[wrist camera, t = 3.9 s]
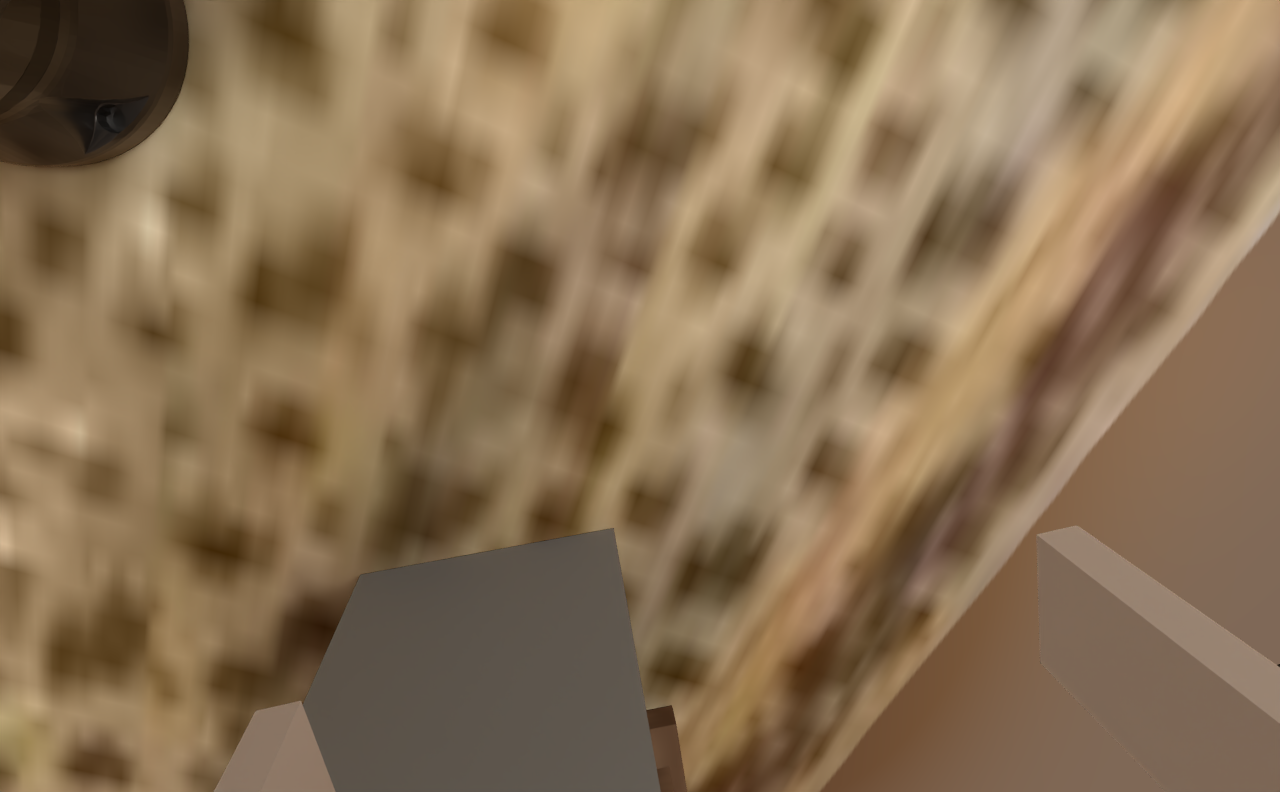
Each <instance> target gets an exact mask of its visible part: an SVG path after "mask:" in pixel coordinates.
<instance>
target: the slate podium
mask: <svg viewBox="0 0 1280 792" xmlns="http://www.w3.org/2000/svg"><path fill="white" fill-rule="evenodd" d="M303 707H304V710H305V713H306V715H307V718H308V721H309V723H310V726H311V728H312V731H313V734H314V736H315V739H316V742H317V744H318V747H319V750H320V752H321V755H322V757H323V760H324V763H325V765H326V768H327V771H328V773H329V776H330V779H331V781H332V784H333V786H334V789H335V792H661V790H660V785H659V779H658V773H657V768H656V762H655V757H654V751H653V746H652V740H651V734H650V729H649V723H648V718H647V712H646V707H645V701H644V695H643V690H642V684H641V679H640V673H639V668H638V662H637V656H636V651H635V645H634V640H633V634H632V629H631V623H630V617H629V612H628V606H627V601H626V595H625V590H624V584H623V578H622V573H621V567H620V562H619V556H618V550H617V545H616V539H615V534H614V528H612V529H606V530H601V531H596V532H590V533H585V534H579V535H574V536H568V537H563V538H558V539H552V540H547V541H541V542H536V543H530V544H525V545H520V546H514V547H509V548H503V549H498V550H492V551H487V552H482V553H476V554H471V555H465V556H460V557H454V558H449V559H444V560H438V561H433V562H427V563H422V564H417V565H411V566H406V567H400V568H395V569H389V570H384V571H379V572H373V573H368V574H362V575H360V577H359V579H358V581H357V584H356V586H355V588H354V590H353V593H352V595H351V597H350V599H349V602H348V604H347V606H346V608H345V611H344V613H343V615H342V617H341V620H340V622H339V624H338V626H337V629H336V631H335V633H334V635H333V638H332V640H331V642H330V644H329V647H328V649H327V651H326V653H325V656H324V658H323V660H322V662H321V665H320V667H319V669H318V671H317V674H316V676H315V678H314V680H313V683H312V685H311V687H310V689H309V692H308V694H307V696H306V698H305V701H304V703H303Z"/></svg>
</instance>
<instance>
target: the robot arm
mask: <svg viewBox="0 0 1280 792" xmlns="http://www.w3.org/2000/svg"><path fill="white" fill-rule="evenodd" d="M187 59H188V24H187V17H186V11H185V6H184V2H183V0H0V161H3V162H8V163H12V164H18V165H25V166H38V167H51V166H78V165H86V164H92V163H96V162H100V161H104V160H107V159H110V158H113V157H115V156H117V155H120V154H122V153H124V152H126V151H128V150H130V149H131V148H133V147H134V146H136V145H138V144H139V143H140V142H142V141H143V140H144V139H145V138H147V137H148V136H149V135H150V134H151V133H152V132H153V131H154V130H155V129H156V128H157V127H158V126H159V125H160V123H161V122H162V121H163V120H164V118H165V117H166V116H167V114H168V112H169V111H170V109H171V108H172V106H173V104H174V102H175V100H176V98H177V96H178V93H179V91H180V88H181V85H182V82H183V79H184V75H185V71H186V65H187ZM1037 566H1038V567H1037V569H1038V599H1039V600H1038V602H1039V638H1040V663H1041V664H1042V665H1043V666H1044V667H1045V668H1046V669H1047V670H1048V671H1049V672H1050V674H1051V675H1052V676H1053V677H1054V678H1055V679H1056V680H1057V681H1058V682H1059V683H1060V684H1061V685H1062V686H1063V687H1064V688H1065V689H1066V690H1067V691H1068V692H1069V693H1070V694H1071V695H1072V696H1073V697H1074V698H1075V699H1076V700H1077V701H1078V702H1079V703H1080V704H1081V705H1082V706H1083V707H1084V709H1085V710H1086V711H1087V712H1088V713H1089V714H1090V715H1091V716H1092V717H1093V718H1094V719H1095V720H1096V721H1097V722H1098V723H1099V724H1100V725H1101V726H1102V727H1103V728H1104V729H1105V730H1106V731H1107V732H1108V733H1109V734H1110V735H1111V736H1112V737H1113V738H1114V739H1115V740H1116V741H1117V743H1118V744H1119V745H1120V746H1121V747H1122V748H1123V749H1124V750H1125V751H1126V752H1127V753H1128V754H1129V755H1130V756H1131V757H1132V758H1133V759H1134V760H1135V761H1136V762H1137V763H1138V764H1139V765H1140V766H1141V767H1142V768H1143V769H1144V770H1145V771H1146V772H1147V773H1148V775H1149V776H1150V777H1151V778H1152V779H1153V780H1154V781H1155V782H1156V783H1157V784H1158V785H1159V786H1160V787H1161V788H1162V789H1163V790H1164V791H1165V792H1280V664H1279V665H1276V664H1274V663H1273V662H1271V661H1270V660H1269V659H1267V658H1265V657H1264V656H1263V655H1261V654H1260V653H1258V652H1257V651H1255V650H1254V649H1253V648H1251V647H1250V646H1248V645H1247V644H1246V643H1244V642H1243V641H1241V640H1240V639H1239V638H1237V637H1236V636H1234V635H1233V634H1231V633H1230V632H1229V631H1227V630H1226V629H1224V628H1223V627H1222V626H1220V625H1219V624H1217V623H1216V622H1214V621H1213V620H1211V619H1210V618H1209V617H1207V616H1206V615H1204V614H1203V613H1202V612H1200V611H1199V610H1197V609H1196V608H1194V607H1193V606H1191V605H1190V604H1189V603H1187V602H1186V601H1184V600H1183V599H1181V598H1180V597H1179V596H1177V595H1176V594H1174V593H1173V592H1171V591H1170V590H1169V589H1167V588H1166V587H1164V586H1163V585H1161V584H1160V583H1159V582H1157V581H1156V580H1154V579H1153V578H1151V577H1150V576H1149V575H1147V574H1146V573H1144V572H1143V571H1142V570H1140V569H1139V568H1137V567H1136V566H1134V565H1133V564H1132V563H1130V562H1129V561H1127V560H1126V559H1124V558H1123V557H1122V556H1120V555H1119V554H1117V553H1116V552H1114V551H1113V550H1112V549H1110V548H1109V547H1107V546H1106V545H1104V544H1103V543H1102V542H1100V541H1099V540H1097V539H1096V538H1094V537H1093V536H1091V535H1090V534H1089V533H1087V532H1086V531H1084V530H1083V529H1081V528H1080V527H1079V526H1072V527H1068V528H1064V529H1059V530H1055V531H1050V532H1046V533H1041V534H1037ZM214 792H335V789H334V786H333V784H332V781H331V779H330V776H329V773H328V771H327V768H326V765H325V763H324V760H323V757H322V755H321V752H320V750H319V747H318V744H317V742H316V739H315V736H314V734H313V731H312V728H311V726H310V723H309V721H308V718H307V715H306V713H305V710H304V707H303V705H302V702H301V701H297V702H293V703H288V704H284V705H279V706H275V707H270V708H266V709H262V710H257V711H255V713H254V715H253V717H252V719H251V721H250V723H249V725H248V726H247V728H246V730H245V732H244V734H243V736H242V738H241V740H240V742H239V744H238V746H237V748H236V750H235V752H234V754H233V755H232V757H231V759H230V761H229V763H228V765H227V767H226V769H225V771H224V773H223V775H222V777H221V779H220V781H219V783H218V784H217V786H216V788H215V790H214Z"/></svg>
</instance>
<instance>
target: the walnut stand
mask: <svg viewBox="0 0 1280 792" xmlns="http://www.w3.org/2000/svg"><path fill="white" fill-rule="evenodd" d="M646 712H647V718H648V723H649V729H650V734H651V740H652V746H653V751H654V757H655V762H656V768H657V773H658V779H659V785H660V790H661V792H687V789H686V783H685V776H684V770H683V764H682V758H681V751H680V745H679V739H678V733H677V726H676V721H675V717H674V713H673V708H672V706H667V707H662V708H657V709H652V710H647V711H646Z"/></svg>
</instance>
